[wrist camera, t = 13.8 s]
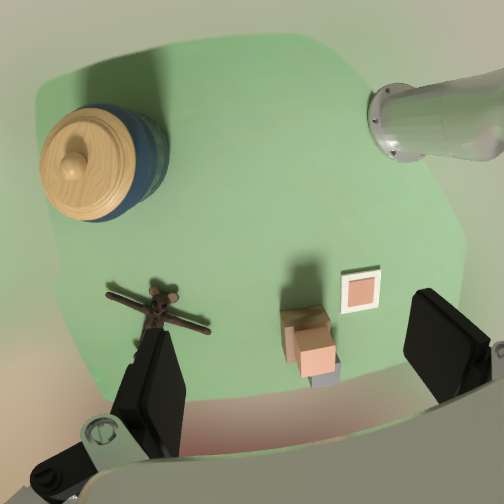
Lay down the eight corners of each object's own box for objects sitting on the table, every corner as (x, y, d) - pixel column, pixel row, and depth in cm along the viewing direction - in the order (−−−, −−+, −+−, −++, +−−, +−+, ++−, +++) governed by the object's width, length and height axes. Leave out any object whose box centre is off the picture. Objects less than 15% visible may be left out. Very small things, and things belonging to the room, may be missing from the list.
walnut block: (321, 304, 49) (330, 320, 44) (321, 338, 51) (329, 355, 46) (279, 310, 48) (284, 327, 44) (282, 345, 51) (286, 363, 46)
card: (379, 268, 47) (381, 270, 46) (376, 305, 50) (378, 307, 49) (340, 274, 47) (342, 276, 46) (339, 312, 49) (341, 314, 49)
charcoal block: (332, 345, 52) (340, 362, 47) (331, 366, 53) (339, 383, 49) (305, 350, 52) (311, 368, 47) (305, 371, 53) (311, 388, 48)
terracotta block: (326, 326, 44) (335, 345, 40) (325, 351, 46) (334, 371, 41) (293, 331, 44) (300, 351, 39) (295, 357, 46) (301, 377, 41)
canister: (117, 97, 36) (55, 73, 19) (189, 143, 39) (162, 139, 22) (73, 174, 39) (0, 193, 22) (140, 220, 42) (90, 265, 25)
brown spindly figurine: (94, 345, 45) (104, 277, 40) (102, 330, 49) (114, 264, 44) (191, 381, 49) (220, 321, 43) (194, 364, 53) (221, 304, 47)
